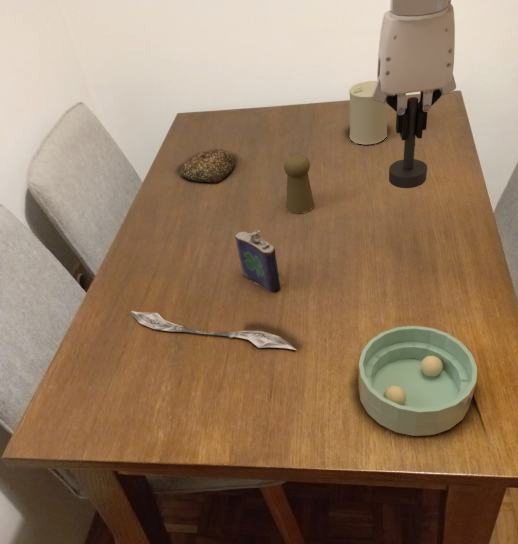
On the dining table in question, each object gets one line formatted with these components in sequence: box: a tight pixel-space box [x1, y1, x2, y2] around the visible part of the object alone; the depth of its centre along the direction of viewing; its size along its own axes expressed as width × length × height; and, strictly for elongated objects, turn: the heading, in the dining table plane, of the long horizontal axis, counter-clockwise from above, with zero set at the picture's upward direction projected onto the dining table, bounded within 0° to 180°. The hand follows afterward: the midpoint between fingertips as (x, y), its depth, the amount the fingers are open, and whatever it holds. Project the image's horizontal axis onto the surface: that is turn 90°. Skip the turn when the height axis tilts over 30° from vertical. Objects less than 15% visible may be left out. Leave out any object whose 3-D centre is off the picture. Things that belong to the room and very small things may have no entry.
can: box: [348, 80, 389, 144], centre depth 125 cm, size 9×9×12 cm
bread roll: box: [180, 148, 236, 184], centre depth 126 cm, size 13×12×5 cm
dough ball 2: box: [421, 356, 443, 377], centre depth 75 cm, size 3×3×3 cm
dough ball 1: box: [384, 386, 406, 405], centre depth 72 cm, size 3×3×3 cm
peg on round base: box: [388, 96, 428, 189], centre depth 83 cm, size 6×6×13 cm
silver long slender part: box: [130, 310, 297, 351], centre depth 89 cm, size 32×1×5 cm
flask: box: [235, 229, 282, 294], centre depth 93 cm, size 9×3×11 cm, turn 43°
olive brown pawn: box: [283, 153, 315, 214], centre depth 108 cm, size 6×6×11 cm
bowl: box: [357, 325, 478, 437], centre depth 73 cm, size 15×15×6 cm
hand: (410, 134), depth 82 cm, fingers closed on peg on round base
